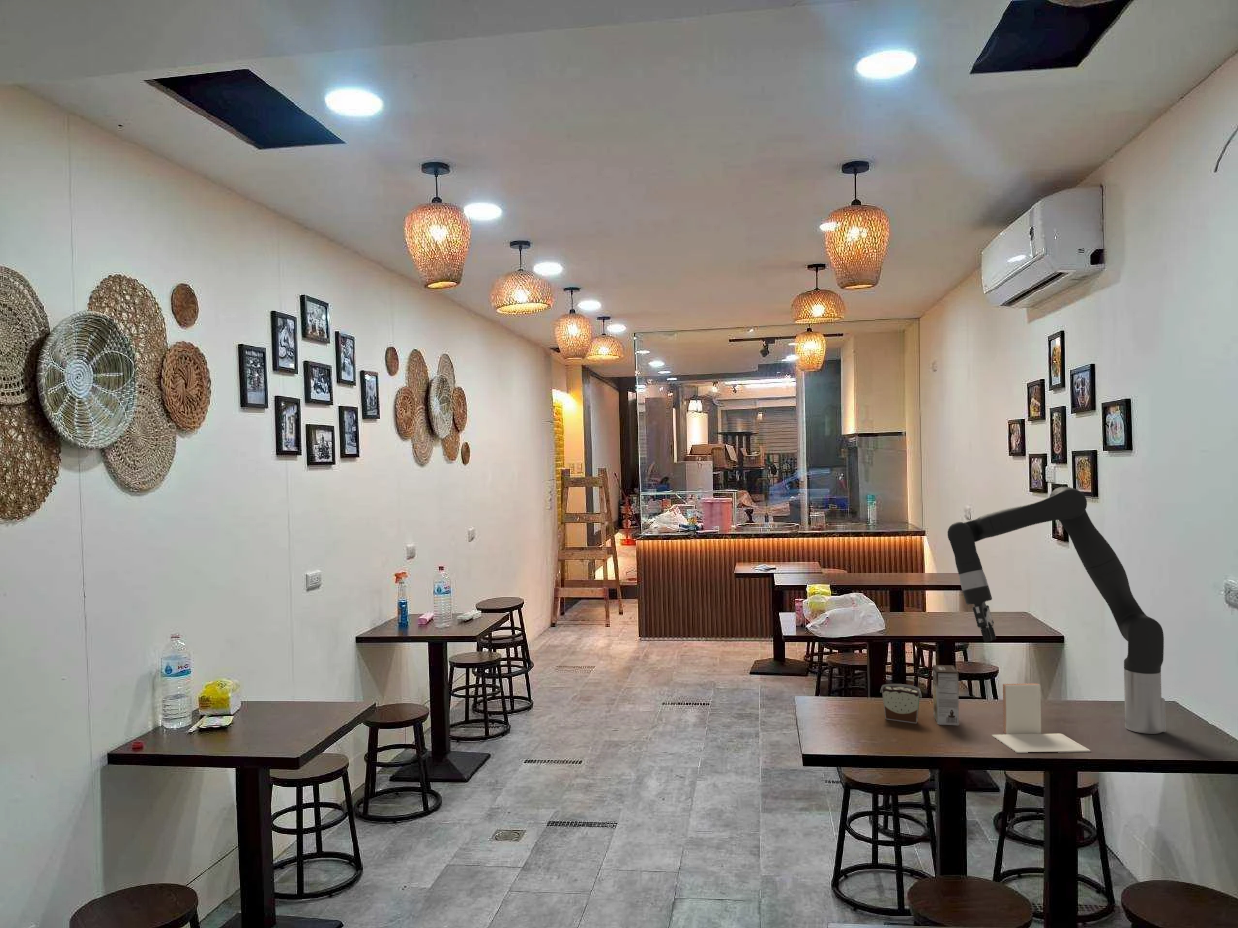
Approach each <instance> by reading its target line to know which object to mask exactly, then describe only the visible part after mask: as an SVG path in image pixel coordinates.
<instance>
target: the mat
mask: <svg viewBox="0 0 1238 928" xmlns="http://www.w3.org/2000/svg"><path fill="white" fill-rule="evenodd" d="M991 737H993V738H994V739H995V738H996V739H995V740H997V741H998V740H999V741H998V742H1000V743H1001V742H1002V743H1001V744H1002V745H1004V746H1005V747H1007V748H1009V749H1010V750H1011V749H1012V750H1011V751H1013V752H1014V751H1015V753H1016V754H1029V753H1028V752H1058V753H1091V752H1092V751H1091V749H1089V748H1087V747H1086V746H1084V745H1081V743H1078V742H1076V741H1075V740H1074V739H1071V738H1070V737H1068V736H1066V735H1065V734H1063V733H1041V734H1005V733H1003V734H991Z"/></svg>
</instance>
